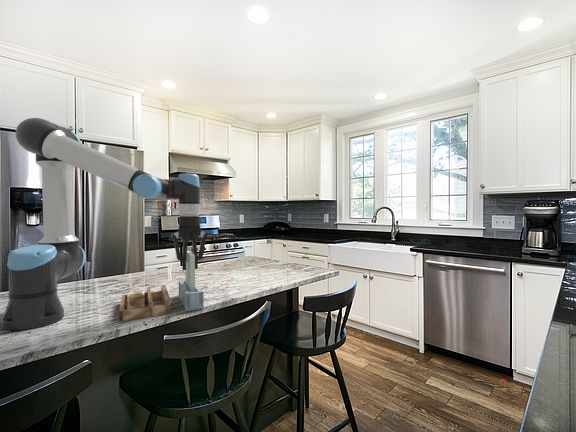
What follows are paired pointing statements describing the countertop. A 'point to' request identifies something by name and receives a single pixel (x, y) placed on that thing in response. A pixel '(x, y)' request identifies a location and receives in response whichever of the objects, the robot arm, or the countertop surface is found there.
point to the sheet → (190, 272)
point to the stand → (191, 297)
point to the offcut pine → (135, 293)
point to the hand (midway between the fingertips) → (190, 278)
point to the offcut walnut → (136, 299)
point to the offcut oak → (135, 306)
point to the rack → (150, 309)
